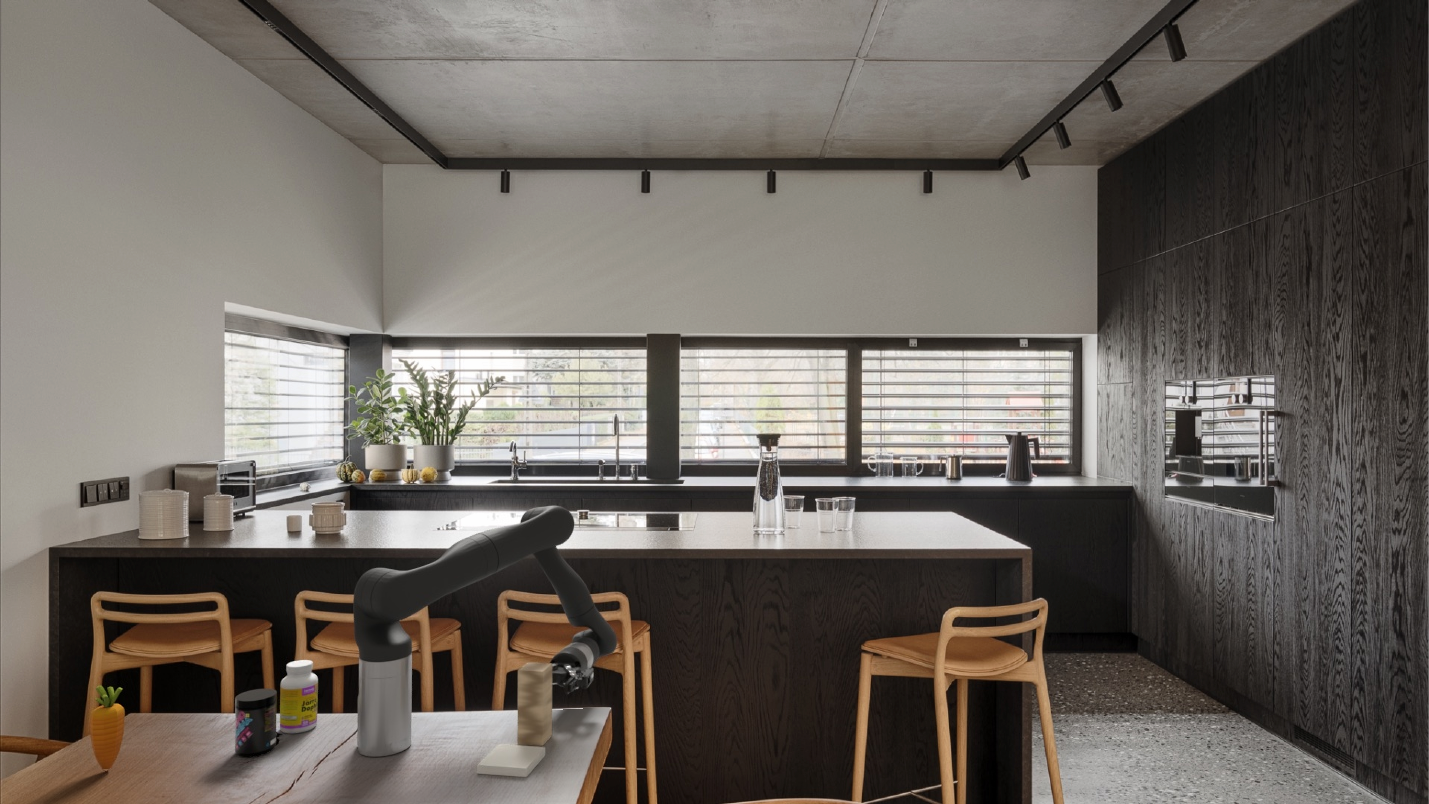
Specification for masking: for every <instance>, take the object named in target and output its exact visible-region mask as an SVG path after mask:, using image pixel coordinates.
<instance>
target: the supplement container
mask: <svg viewBox="0 0 1429 804" xmlns="http://www.w3.org/2000/svg"><path fill="white" fill-rule="evenodd" d="M277 693H278V691H277V690H276V689H273V688H256V689H251V690H247V691H243V692H241V693H239V694H238V695H236V696H235V698H234V699H235V700H234V701H235V703H234V707H235V712H234V713H235V718H234V719H235V723H234V724H235V725H234V727H235V729H234V733H235V734H234V753H235V755H237V756H238V757H240V758H248V759H249V758H257V757H261V756H264V755H266V754H268V753H270V752H272V751H273V750H275V748H276V746H277V703H278V702H277V701H278V696H277V695H278V694H277Z"/></svg>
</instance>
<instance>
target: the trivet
mask: <svg viewBox="0 0 1429 804" xmlns="http://www.w3.org/2000/svg"><path fill="white" fill-rule="evenodd" d="M545 756H546V746H534V745H520V744H505V743H503V744H502V743H499V744H497V745H496V746H495V747H494V748H493V749H492V750H491V751H490V752H488V754H486V756H485V757H484V758H483V759H482V760H481V761H480V762H479V763H478V764H477V766H476V767H477V768H476V774H478V775H479V774H480V775H481V774H482V775H493V776H507V777H518V778H519V777H520V778H527V777H528V776H529V775H530V774H531V773H532V771H533V770H534V769H535V768H536V767H537V765H539V763H540V762H541V761H542V760H543V759H544V757H545Z"/></svg>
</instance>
